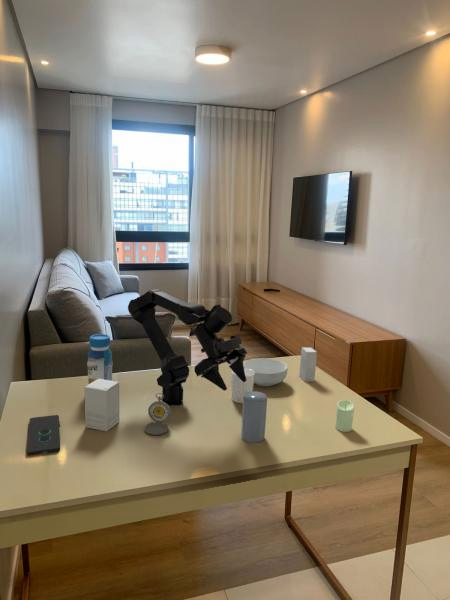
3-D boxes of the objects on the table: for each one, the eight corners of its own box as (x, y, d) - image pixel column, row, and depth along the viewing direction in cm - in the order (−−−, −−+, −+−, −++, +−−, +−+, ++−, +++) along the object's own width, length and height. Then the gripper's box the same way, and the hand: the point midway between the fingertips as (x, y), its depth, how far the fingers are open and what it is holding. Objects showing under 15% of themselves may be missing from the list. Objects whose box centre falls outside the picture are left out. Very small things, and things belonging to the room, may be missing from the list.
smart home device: (26, 451, 115) (29, 417, 133) (26, 458, 115) (29, 422, 133) (60, 447, 118) (59, 414, 136) (61, 453, 118) (59, 419, 136)
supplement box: (120, 421, 136) (120, 381, 133) (106, 432, 129) (106, 390, 126) (99, 416, 138) (98, 377, 136) (84, 427, 131) (83, 386, 129)
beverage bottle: (116, 394, 155) (116, 338, 151) (92, 399, 150) (91, 341, 146) (107, 386, 162) (107, 332, 158) (84, 390, 157) (83, 334, 153)
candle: (350, 433, 135) (353, 407, 133) (333, 430, 137) (336, 404, 135) (352, 426, 140) (355, 401, 138) (335, 423, 141) (338, 398, 140)
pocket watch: (148, 438, 127) (149, 404, 125) (139, 425, 134) (140, 393, 132) (176, 432, 131) (176, 400, 129) (166, 420, 138) (166, 389, 136)
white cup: (251, 405, 151) (252, 377, 149) (228, 402, 153) (229, 374, 151) (254, 396, 159) (256, 369, 157) (232, 393, 160) (233, 366, 158)
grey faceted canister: (255, 445, 126) (257, 402, 123) (236, 436, 130) (238, 395, 127) (268, 436, 131) (271, 396, 128) (250, 429, 135) (252, 389, 132)
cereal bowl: (244, 373, 182) (245, 356, 180) (286, 376, 179) (287, 359, 178) (240, 388, 165) (241, 370, 164) (286, 393, 163) (287, 374, 162)
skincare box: (314, 381, 176) (317, 351, 173) (304, 381, 175) (307, 352, 173) (308, 375, 182) (311, 347, 179) (298, 376, 181) (301, 347, 178)
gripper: (203, 332, 125) (232, 381, 121) (244, 321, 140) (271, 365, 135) (182, 352, 132) (208, 399, 127) (223, 340, 146) (248, 382, 141)
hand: (235, 385), depth 133 cm, fingers open, 9 cm apart
